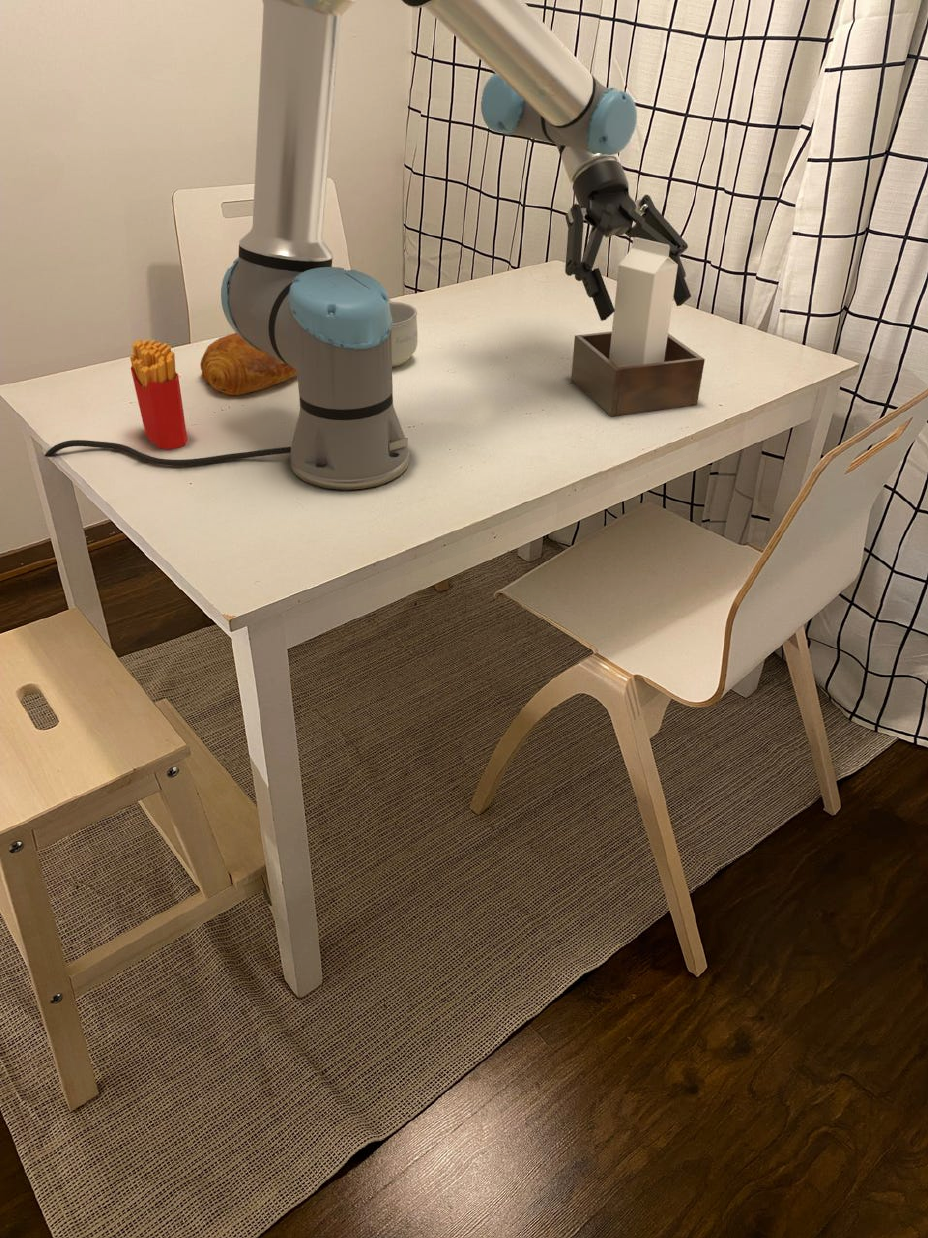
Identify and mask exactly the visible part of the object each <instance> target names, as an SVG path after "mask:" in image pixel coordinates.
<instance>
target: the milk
mask: <svg viewBox="0 0 928 1238" xmlns="http://www.w3.org/2000/svg"><path fill="white" fill-rule="evenodd" d="M632 238H633V237H632ZM669 249H670V248H669V245H667V244H663V243H658V242H654V241H650V240H646V239H641V238H637V237H634V238H633V239H632V245H631V249H630V250H629V251H628V253H627V254H626V255H625V256H624V257H623V259H621V261H620V262H619V263H618V270H617V278H616V289H615V298H614V305H613V307H614V310H615V311H614V312H613V316H612V317H613V318H612V326H611V331H612V334H611V344H610V353H609V360H610V361H611V362H612V363H614V364H615V365H616V366H617V367H618V368H619V367H627V366H635V365H643V364H651V363H659V362H664V358H665V351H666V344H667V337H668V333H669V330H670V324H671V323H670V322H671V316H672V308H673V300H674V297H673V295H674V288H675V281H676V274H677V267H678V264H677V263H675V262H674V261H673V260H672V259H671V258H669Z"/></svg>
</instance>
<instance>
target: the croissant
mask: <svg viewBox="0 0 928 1238" xmlns="http://www.w3.org/2000/svg"><path fill="white" fill-rule="evenodd" d="M199 365H200V370H201V377H202V379H204V380H205V381H206V383H207V384H210V386H211V387H212V388H213V389H215V390H216V391H219V392H222V393H223V394H226V395H229V396H230V395H231V396H239V395H245V394H248V393H253V392H256V391H257V392H258V391H260V390H263V389H267V388H269V387H272V386H275V385H277V384H279V383H282V382H284V381H286V380H289V379H291V378H292V377H294V376H296V375H297V371H296V369H294V368H292V367H291V366H289V365H287V364H285V363H283V362H282V361H280V360H278V359H276V358H274V357H273V356H271V355H269V354H267V353H265V352H263V351H260V350H258V349H256V348H254V347H253V346H251V345H250V344H248V343H247V341H246V340H244V339H243V338H242V337H241V336H239V335H238V334H237V333H236V332H234V333H231V334H227V335H225V336H222V337H220V338H218V339H216V340H215V341H213V342H211V343H210V344H209V345H208V346H207V347H206V349H205V351H204V353H203V355H202V357H201V361H200V364H199Z"/></svg>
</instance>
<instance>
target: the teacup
mask: <svg viewBox="0 0 928 1238" xmlns="http://www.w3.org/2000/svg"><path fill="white" fill-rule="evenodd" d="M389 305H390V312H391V317H392V328H391V329H392V330H391V340H392V368H393V367H399V366H401V365H403V364H404V363H406V361H407V360H408V359H409V358H411V356H413V354H414V353H415V352H416V350H417V346H418V321H417V319H418V317H417V316H418V310H417V308H416V307H415V306H413V305H412V304H409V303H406V302H401V301H400V302H399V301H392V300H391V298H389Z"/></svg>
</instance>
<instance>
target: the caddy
mask: <svg viewBox="0 0 928 1238" xmlns="http://www.w3.org/2000/svg"><path fill="white" fill-rule="evenodd" d="M611 334H612V330H610V331H602V332H594V333H585V334H575V335H574V340H573V342H574V343H573V354H572V363H571V364H572V365H571V376H570V380H571V381H572V382H573V383H574V384H575V385H577V387H578V388H580V390H582V391H583V392H584V393H585V394H586V395H587V396H588V397H589V398H590V399H591V400H592V401H594V402H595V404H597V405H598V406H599V407H600V408H601V409H602V410H603V411H604V412H605V413H606V414H608V416H609V417H618V416H624V415H632V414H637V413H638V414H639V413H646V412H647V413H648V412H653V411H661V410H668V409H676V408H677V409H678V408H683V407H691V406H697V405H698V401H699V395H700V391H701V383H702V379H703V372H704V367H705V358H704V357H703V356H702V355H700V354H698V353H697V352H695V351H694V350H692V349H691V348H690V347H688V346H687V345H686V344H684V343H682V342H681V341H680V340H679V339H677V338H676V337H674V336H673V335H671V334H670V333H669V332H668V337H667V344H666V351H665V358H664V362H659V363H651V364H643V365H635V366H627V367H619V368H618V367H617V366H616V365H615V364H614V363H612V362H611V361H610V360H609V353H610V344H611Z"/></svg>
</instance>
